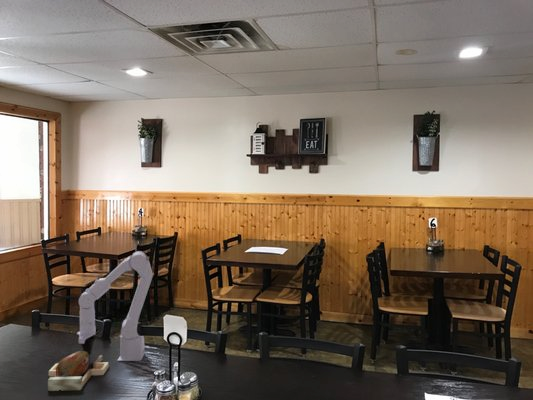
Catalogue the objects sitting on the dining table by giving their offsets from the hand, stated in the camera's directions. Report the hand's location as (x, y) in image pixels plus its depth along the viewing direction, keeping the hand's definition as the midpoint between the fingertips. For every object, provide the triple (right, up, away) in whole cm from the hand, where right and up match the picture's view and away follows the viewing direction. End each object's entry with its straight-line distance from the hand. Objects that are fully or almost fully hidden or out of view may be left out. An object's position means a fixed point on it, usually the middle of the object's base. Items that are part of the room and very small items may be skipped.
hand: (87, 354), depth 176 cm
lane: (+1, -3, -11) cm, 11 cm away
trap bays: (+1, -3, -9) cm, 10 cm away
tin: (0, -4, -13) cm, 14 cm away
